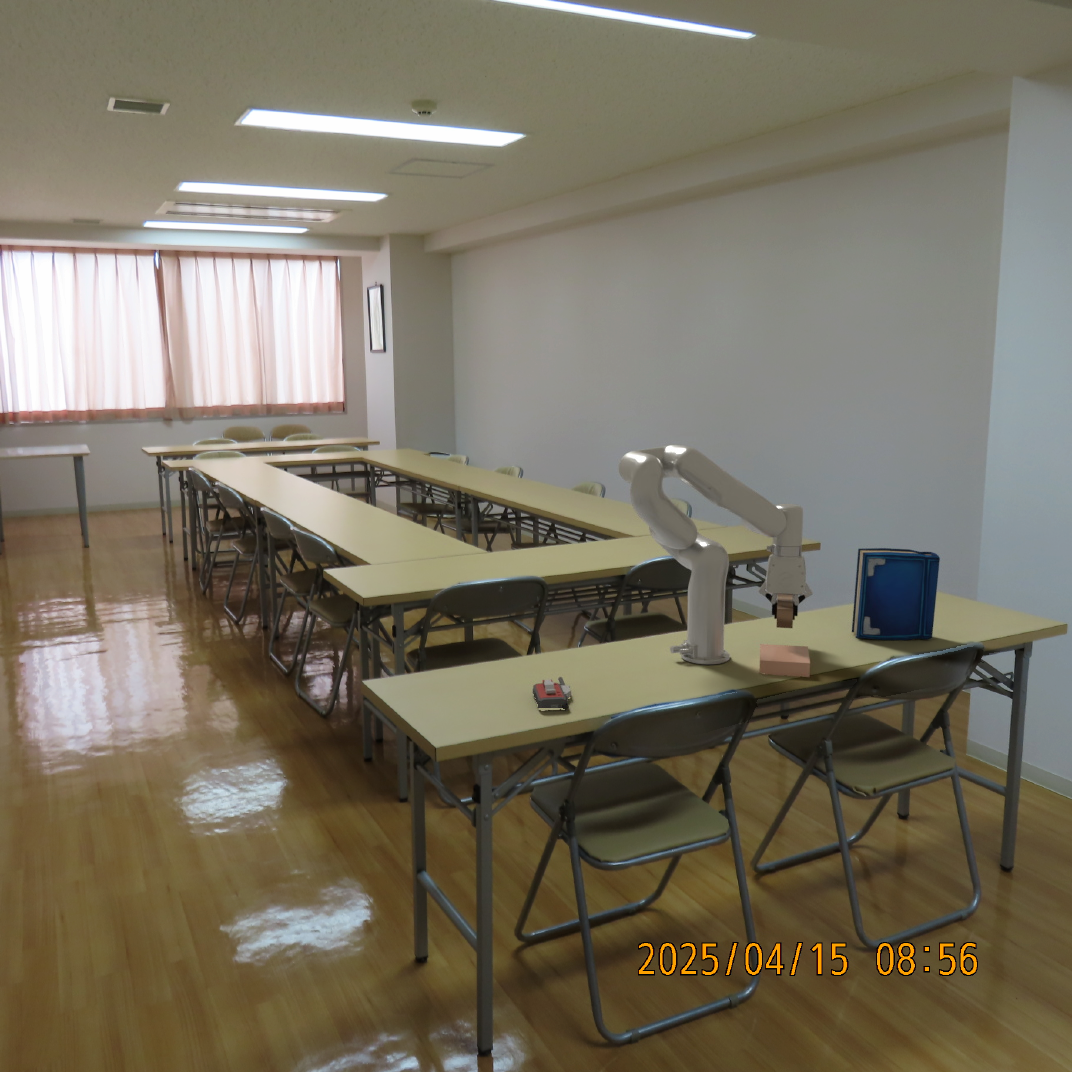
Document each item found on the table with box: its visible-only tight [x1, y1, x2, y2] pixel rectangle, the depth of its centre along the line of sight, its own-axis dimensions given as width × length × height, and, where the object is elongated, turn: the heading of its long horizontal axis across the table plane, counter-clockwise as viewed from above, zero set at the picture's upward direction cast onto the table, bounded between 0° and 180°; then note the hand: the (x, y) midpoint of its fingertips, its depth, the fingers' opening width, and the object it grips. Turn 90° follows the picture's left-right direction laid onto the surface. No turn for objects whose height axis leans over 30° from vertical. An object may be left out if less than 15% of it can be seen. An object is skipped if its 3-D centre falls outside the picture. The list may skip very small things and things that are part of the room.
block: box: [776, 594, 794, 629], centre depth 247 cm, size 18×4×5 cm, turn 165°
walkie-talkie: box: [532, 676, 572, 710], centre depth 216 cm, size 9×4×20 cm
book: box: [851, 547, 941, 641], centre depth 257 cm, size 22×7×25 cm, turn 84°
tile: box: [758, 643, 811, 678], centre depth 236 cm, size 4×12×14 cm
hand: (784, 617), depth 247 cm, fingers closed on block, 4 cm apart
